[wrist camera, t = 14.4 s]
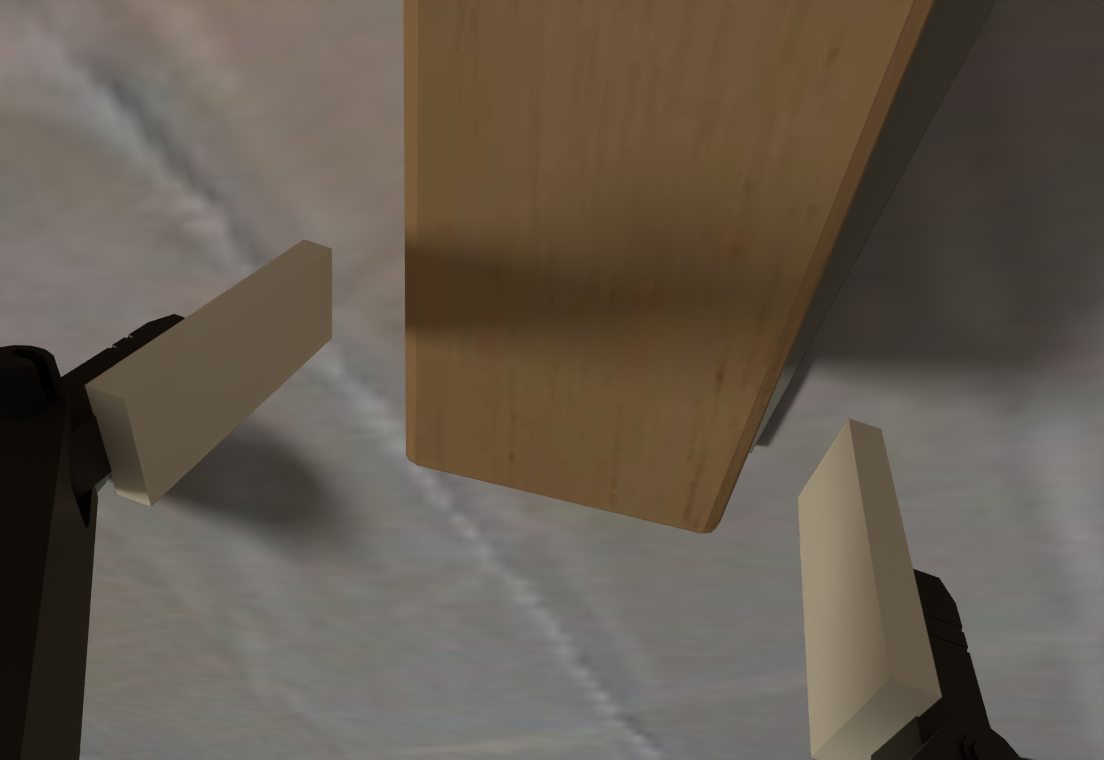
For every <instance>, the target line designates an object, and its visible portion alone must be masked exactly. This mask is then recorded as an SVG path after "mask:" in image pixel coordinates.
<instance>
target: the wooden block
mask: <svg viewBox="0 0 1104 760" xmlns="http://www.w3.org/2000/svg"><path fill="white" fill-rule="evenodd" d="M935 2H936V0H404V164H405V356H406V455H407V457H408V459H409V461H411V462H413V463H414V464H416V465H418V466H423V467H427V468H431V469H435V470H439V471H443V472H447V473H452V474H456V475H460V476H464V477H468V478H472V479H477V480H481V481H485V482H489V483H493V484H497V485H502V486H506V487H510V488H514V489H518V490H522V491H526V492H531V493H535V494H539V495H543V496H547V497H551V498H556V499H560V500H564V501H568V502H572V503H576V504H581V505H585V506H589V507H593V508H597V509H601V510H605V511H610V512H614V513H618V514H622V515H626V516H630V517H635V518H639V519H643V520H647V521H651V522H655V523H660V524H664V525H668V526H672V527H676V528H680V529H684V530H689V531H693V532H697V533H711V532H712V531H713V530H714V529H716V527H717V526H718V524H719V522H720V521H721V518H722V516H723V514H724V511H725V509H726V506H727V504H728V501H729V499H730V497H731V494H732V492H733V489H734V487H735V485H736V482H737V480H738V477H739V475H740V472H741V470H742V468H743V465H744V463H745V460H746V458H747V456H748V453H749V451H750V448H751V446H752V444H753V441H754V439H755V436H756V434H757V431H758V429H759V427H760V424H761V422H762V419H763V417H764V415H765V412H766V410H767V407H768V405H769V402H770V400H771V398H772V395H773V393H774V390H775V388H776V386H777V383H778V381H779V378H780V376H781V373H782V371H783V369H784V366H785V364H786V361H787V359H788V357H789V354H790V352H791V349H792V347H793V345H794V342H795V340H796V337H797V335H798V332H799V330H800V328H801V325H802V323H803V320H804V318H805V316H806V313H807V311H808V308H809V306H810V303H811V301H812V299H813V296H814V294H815V291H816V289H817V287H818V284H819V282H820V279H821V277H822V274H823V272H824V270H825V267H826V265H827V262H828V260H829V258H830V255H831V253H832V250H833V248H834V246H835V243H836V241H837V238H838V236H839V233H840V231H841V229H842V226H843V224H844V221H845V219H846V217H847V214H848V212H849V209H850V207H851V204H852V202H853V200H854V197H855V195H856V192H857V190H858V188H859V185H860V183H861V180H862V178H863V176H864V173H865V171H866V168H867V166H868V163H869V161H870V159H871V156H872V154H873V151H874V149H875V147H876V144H877V142H878V139H879V137H880V134H881V132H882V130H883V127H884V125H885V122H886V120H887V118H888V115H889V113H890V110H891V108H892V106H893V103H894V101H895V98H896V96H897V93H898V91H899V89H900V86H901V84H902V81H903V79H904V77H905V74H906V72H907V69H908V67H909V64H910V62H911V60H912V57H913V55H914V52H915V50H916V48H917V45H918V43H919V40H920V38H921V35H922V33H923V31H924V28H925V26H926V23H927V21H928V19H929V16H930V14H931V11H932V9H933V7H934V4H935Z"/></svg>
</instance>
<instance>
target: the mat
mask: <svg viewBox="0 0 1104 760" xmlns="http://www.w3.org/2000/svg"><path fill="white" fill-rule="evenodd" d="M995 2H996V0H936V2H935V4H934V7H933V9H932V11H931V14H930V16H929V19H928V21H927V23H926V26H925V28H924V31H923V33H922V35H921V38H920V40H919V43H918V45H917V48H916V50H915V52H914V55H913V57H912V60H911V62H910V64H909V67H908V69H907V72H906V74H905V77H904V79H903V81H902V84H901V86H900V89H899V91H898V93H897V96H896V98H895V101H894V103H893V106H892V108H891V110H890V113H889V115H888V118H887V120H886V122H885V125H884V127H883V130H882V132H881V134H880V137H879V139H878V142H877V144H876V147H875V149H874V151H873V154H872V156H871V159H870V161H869V163H868V166H867V168H866V171H865V173H864V176H863V178H862V180H861V183H860V185H859V188H858V190H857V192H856V195H855V197H854V200H853V202H852V204H851V207H850V209H849V212H848V214H847V217H846V219H845V221H844V224H843V226H842V229H841V231H840V233H839V236H838V238H837V241H836V243H835V246H834V248H833V250H832V253H831V255H830V258H829V260H828V262H827V265H826V267H825V270H824V272H823V274H822V277H821V279H820V282H819V284H818V287H817V289H816V291H815V294H814V296H813V299H812V301H811V303H810V306H809V308H808V311H807V313H806V316H805V318H804V320H803V323H802V325H801V328H800V330H799V332H798V335H797V337H796V340H795V342H794V345H793V347H792V349H791V352H790V354H789V357H788V359H787V361H786V364H785V366H784V369H783V371H782V373H781V376H780V378H779V381H778V383H777V386H776V388H775V390H774V393H773V395H772V398H771V400H770V402H769V405H768V407H767V410H766V412H765V415H764V417H763V419H762V422H761V424H760V427H759V429H758V431H757V434H756V436H755V439H754V441H753V444H752V446H751V448H750V451H749V453H751V452H752V451H753V449H754V447H755V445H756V443H757V441H758V439H759V438H760V436H761V434H762V432H763V430H764V428H765V427H766V425H767V423H768V421H769V419H770V417H771V415H772V414H773V412H774V410H775V408H776V406H777V404H778V403H779V401H780V399H781V397H782V395H783V393H784V391H785V390H786V388H787V386H788V384H789V382H790V380H791V379H792V377H793V375H794V373H795V371H796V369H797V367H798V366H799V364H800V362H801V360H802V358H803V356H804V355H805V353H806V351H807V349H808V347H809V345H810V343H811V342H812V340H813V338H814V336H815V334H816V332H817V331H818V329H819V327H820V325H821V323H822V321H823V319H824V318H825V316H826V314H827V312H828V310H829V308H830V307H831V305H832V303H833V301H834V299H835V297H836V295H837V294H838V292H839V290H840V288H841V286H842V284H843V283H844V281H845V279H846V277H847V275H848V273H849V271H850V270H851V268H852V266H853V264H854V262H855V260H856V259H857V257H858V255H859V253H860V251H861V249H862V247H863V246H864V244H865V242H866V240H867V238H868V236H869V235H870V233H871V231H872V229H873V227H874V225H875V223H876V222H877V220H878V218H879V216H880V214H881V212H882V211H883V209H884V207H885V205H886V203H887V201H888V199H889V198H890V196H891V194H892V192H893V190H894V188H895V187H896V185H897V183H898V181H899V179H900V177H901V175H902V174H903V172H904V170H905V168H906V166H907V164H908V163H909V161H910V159H911V157H912V155H913V153H914V151H915V150H916V148H917V146H918V144H919V142H920V140H921V139H922V137H923V135H924V133H925V131H926V129H927V127H928V126H929V124H930V122H931V120H932V118H933V116H934V115H935V113H936V111H937V109H938V107H939V105H940V103H941V102H942V100H943V98H944V96H945V94H946V92H947V91H948V89H949V87H950V85H951V83H952V81H953V79H954V78H955V76H956V74H957V72H958V70H959V68H960V67H961V65H962V63H963V61H964V59H965V57H966V55H967V54H968V52H969V50H970V48H971V46H972V44H973V43H974V41H975V39H976V37H977V35H978V33H979V31H980V30H981V28H982V26H983V24H984V22H985V20H986V19H987V17H988V15H989V13H990V11H991V9H992V7H993V6H994V4H995Z"/></svg>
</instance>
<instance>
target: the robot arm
mask: <svg viewBox="0 0 1104 760" xmlns="http://www.w3.org/2000/svg"><path fill="white" fill-rule="evenodd" d="M331 338H332V249H331V248H328V247H325V246H322V245H319V244H316V243H313V242H310V241H307V240H302V241H301V242H299V243H298V244H296V245H295V246H293V247H292V248H290V249H289V250H287V251H286V252H284V253H283V254H281V255H280V256H278V257H277V258H275V259H274V260H272V261H271V262H269V263H268V264H266V265H265V266H263V267H262V268H260V269H259V270H257V271H256V272H254V273H253V274H251V275H250V276H248V277H247V278H245V279H244V280H242V281H241V282H239V283H238V284H236V285H235V286H233V287H232V288H230V289H229V290H227V291H226V292H224V293H223V294H221V295H220V296H218V297H217V298H215V299H214V300H212V301H211V302H209V303H208V304H206V305H205V306H203V307H202V308H200V309H199V310H197V311H196V312H194V313H193V314H191V315H190V316H188V317H187V318H184V317H182V316H179V315H176V314H173V315H170V316H166V317H163V318H160V319H157V320H154V321H151V322H148V323H146V324H145V325H143V326H142V327H140V328H138V329H137V330H135V331H134V332H132V333H131V334H129V335H128V338H125V337H124V338H123V339H121V340H119V341H118V342H116V343H115V344H113V345H112V348H107V349H105V350H104V351H102V352H100V353H99V354H97V355H96V356H94V357H93V358H91V359H89V360H88V361H86V362H85V363H83V364H81V365H80V366H78V367H77V368H75V369H74V370H72V371H70V372H69V373H67V374H66V375H64V376H62V377H60V374H59V370H58V367H57V364H56V361H55V358H54V355H52V354H51V353H49V352H48V351H47V350H45V349H42V348H38V347H34V346H25V345H12V346H6V347H0V760H79V756H80V742H81V728H82V714H83V700H84V686H85V672H86V658H87V644H88V630H89V616H90V602H91V588H92V574H93V560H94V546H95V532H96V518H97V504H98V495H97V492H96V488H95V485H96V484H97V483H99V482H100V481H101V480H102V479H103V478H105V477H106V476H107V475H108V474H109V473H110V474H111V477H112V481H113V484H114V488H115V491H116V494H118V495H121V496H124V497H126V498H129V499H132V500H134V501H137V502H140V503H142V504H145V505H147V506H150V507H151V506H152V505H153V504H154V503H156V502H157V501H158V500H159V499H160V498H161V497H162V496H163V495H164V494H165V493H166V492H167V491H168V490H169V489H171V488H172V487H173V486H174V485H175V484H176V483H177V482H178V481H179V480H180V479H181V478H182V477H183V476H184V475H186V474H187V473H188V472H189V471H190V470H191V469H192V468H193V467H194V466H195V465H196V464H197V463H198V462H199V461H201V460H202V459H203V458H204V457H205V456H206V455H207V454H208V453H209V452H210V451H211V450H212V449H213V448H214V447H216V446H217V445H218V444H219V443H220V442H221V441H222V440H223V439H224V438H225V437H226V436H227V435H228V434H229V433H231V432H232V431H233V430H234V429H235V428H236V427H237V426H238V425H239V424H240V423H241V422H242V421H243V420H244V419H246V418H247V417H248V416H249V415H250V414H251V413H252V412H253V411H254V410H255V409H256V408H257V407H258V406H259V405H261V404H262V403H263V402H264V401H265V400H266V399H267V398H268V397H269V396H270V395H271V394H272V393H273V392H274V391H276V390H277V389H278V388H279V387H280V386H281V385H282V384H283V383H284V382H285V381H286V380H287V379H288V378H289V377H291V376H292V375H293V374H294V373H295V372H296V371H297V370H298V369H299V368H300V367H301V366H302V365H303V364H304V363H306V362H307V361H308V360H309V359H310V358H311V357H312V356H313V355H314V354H315V353H316V352H317V351H318V350H320V349H321V348H322V347H323V346H324V345H325V344H326V343H327V342H328V341H329V340H330V339H331ZM798 512H799V532H800V551H801V570H802V590H803V609H804V628H805V648H806V667H807V686H808V706H809V725H810V744H811V757H812V758H814V759H817V760H870V759H871V760H1021V759H1020V757H1019V755H1018V754H1017V753H1016V752H1015V751H1014V750H1013V748H1012V747H1011V746H1010V745H1009V744H1008V743H1007V741H1006V740H1005V739H1004V738H1002V737H1001V736H1000V735H998V734H997V733H996V732H995V731H993V730H992V729H991V727H990V725H989V721H988V717H987V714H986V710H985V707H984V703H983V700H982V696H981V692H980V689H979V685H978V682H977V678H976V674H975V671H974V667H973V664H972V660H971V656H970V653H968V652H967V649H968V646H967V642H966V638H965V635H964V632H962V631H961V630H962V624H961V621H960V617H959V613H958V610H957V606H956V603H955V601H954V600H953V598H952V597H951V595H950V594H949V592H948V591H947V589H946V588H945V586H944V585H943V583H942V582H941V580H940V578H938V577H935V576H932V575H929V574H927V573H924V572H921V571H918V570H915V569H913V567H912V563H911V558H910V554H909V549H908V545H907V541H906V536H905V532H904V527H903V523H902V518H901V514H900V510H899V505H898V501H897V496H896V492H895V488H894V483H893V479H892V474H891V470H890V465H889V461H888V457H887V452H886V448H885V443H884V439H883V435H882V430H881V429H879V428H876V427H873V426H870V425H867V424H864V423H861V422H858V421H855V420H852V419H849V418H848V420H847V422H846V423H845V425H844V426H843V428H842V429H841V431H840V433H839V434H838V436H837V437H836V439H835V440H834V442H833V444H832V445H831V447H830V448H829V450H828V451H827V453H826V454H825V456H824V458H823V459H822V461H821V462H820V464H819V465H818V467H817V469H816V470H815V472H814V473H813V475H812V476H811V478H810V480H809V481H808V483H807V484H806V486H805V487H804V489H803V491H802V492H801V494H800V495H799V497H798Z"/></svg>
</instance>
